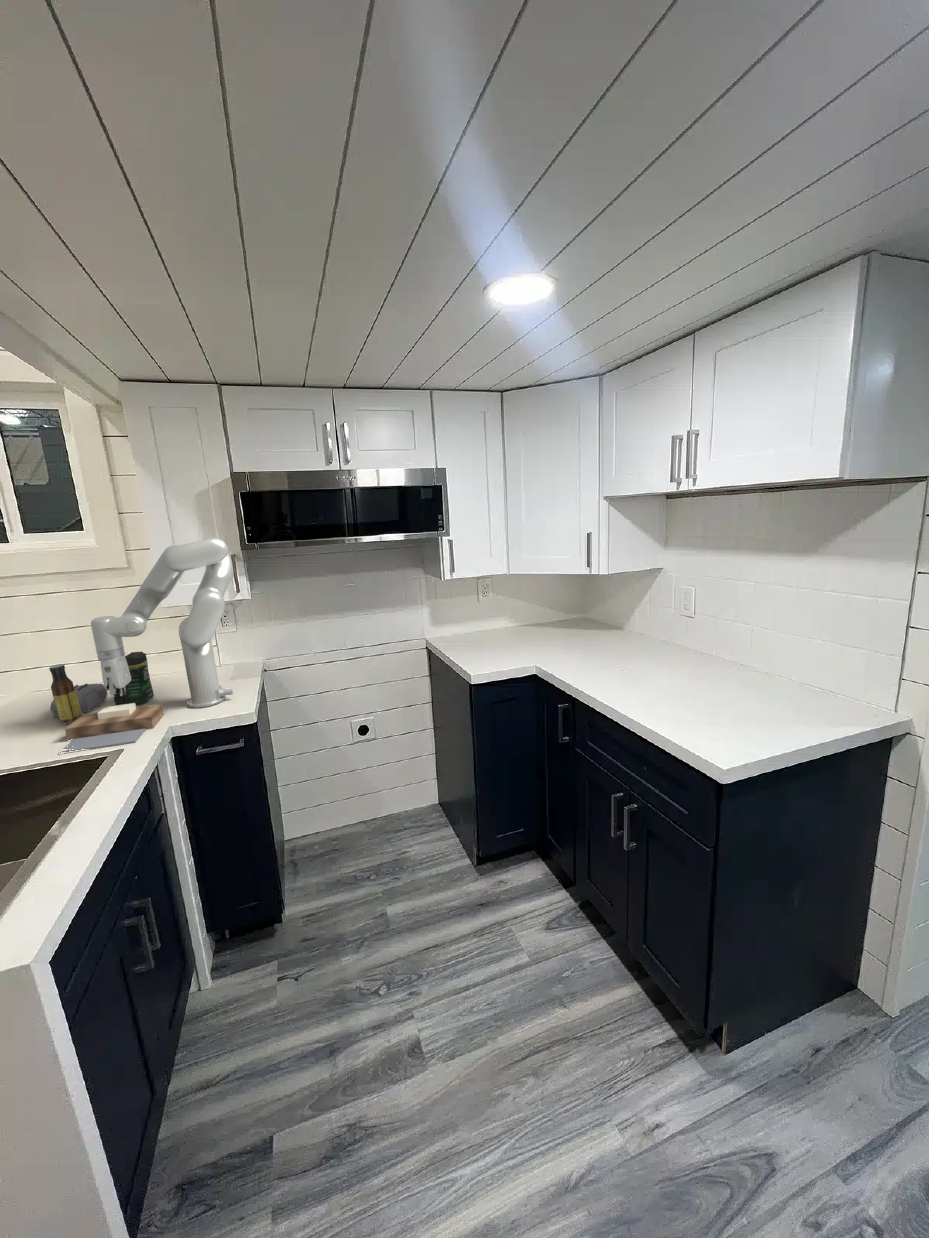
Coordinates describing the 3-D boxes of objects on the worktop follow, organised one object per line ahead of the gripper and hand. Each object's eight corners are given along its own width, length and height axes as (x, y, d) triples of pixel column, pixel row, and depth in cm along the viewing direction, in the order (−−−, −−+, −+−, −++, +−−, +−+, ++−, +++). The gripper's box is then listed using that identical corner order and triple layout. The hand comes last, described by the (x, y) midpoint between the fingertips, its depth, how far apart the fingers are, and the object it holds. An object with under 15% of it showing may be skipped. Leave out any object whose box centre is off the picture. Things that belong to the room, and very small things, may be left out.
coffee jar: (147, 704, 190) (137, 655, 187) (123, 707, 189) (113, 658, 185) (157, 695, 200) (148, 649, 196) (135, 698, 199) (125, 651, 195)
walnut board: (164, 715, 179) (161, 704, 178) (153, 728, 167) (150, 716, 166) (84, 726, 173) (81, 715, 172) (67, 741, 162) (64, 729, 161)
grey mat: (146, 729, 167) (145, 728, 166) (135, 742, 157) (134, 741, 157) (74, 740, 162) (74, 738, 162) (58, 754, 152) (58, 752, 152)
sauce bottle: (79, 715, 183) (67, 661, 179) (85, 719, 179) (72, 664, 175) (57, 722, 178) (43, 666, 174) (62, 726, 174) (48, 669, 170)
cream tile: (136, 708, 175) (135, 702, 175) (129, 714, 169) (128, 709, 169) (106, 712, 173) (104, 707, 172) (98, 719, 167) (97, 713, 167)
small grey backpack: (72, 702, 199) (42, 722, 180) (67, 681, 197) (36, 699, 178) (115, 697, 202) (90, 716, 183) (111, 676, 200) (85, 693, 181)
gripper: (115, 658, 165) (126, 712, 169) (132, 647, 179) (142, 697, 183) (88, 661, 163) (100, 716, 167) (107, 649, 178) (118, 700, 181)
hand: (122, 706), depth 175 cm, fingers closed
